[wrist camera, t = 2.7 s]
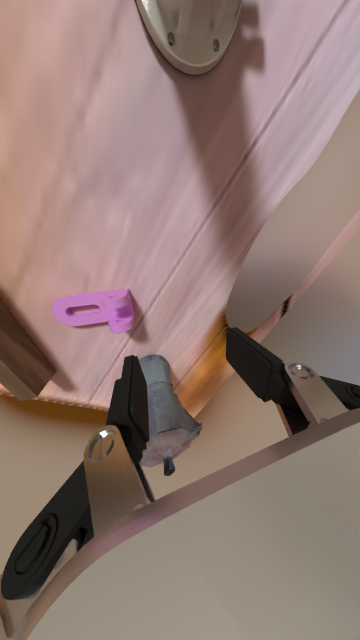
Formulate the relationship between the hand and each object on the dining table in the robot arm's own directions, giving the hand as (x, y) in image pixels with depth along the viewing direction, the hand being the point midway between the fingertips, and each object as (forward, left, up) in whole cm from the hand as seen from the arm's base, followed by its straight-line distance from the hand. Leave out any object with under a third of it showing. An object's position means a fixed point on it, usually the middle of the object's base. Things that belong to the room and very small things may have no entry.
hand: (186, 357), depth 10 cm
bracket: (+12, 0, -20) cm, 23 cm away
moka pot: (+6, +19, -20) cm, 28 cm away
